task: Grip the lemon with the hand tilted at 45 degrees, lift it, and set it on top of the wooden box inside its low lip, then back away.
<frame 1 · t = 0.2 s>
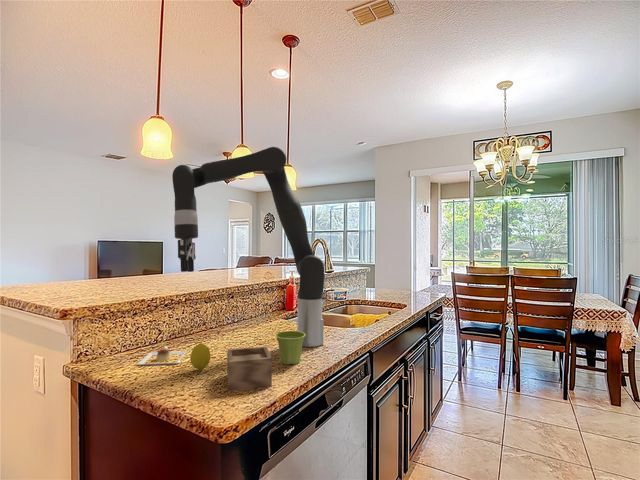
hand: (187, 271, 118), 28 cm above the worktop, tool pointing down, fingers open, 8 cm apart
white square frame: (163, 361, 112), on the worktop
lemon: (200, 371, 102), on the worktop
plant pot: (290, 362, 110), on the worktop
wooden box: (248, 381, 95), on the worktop
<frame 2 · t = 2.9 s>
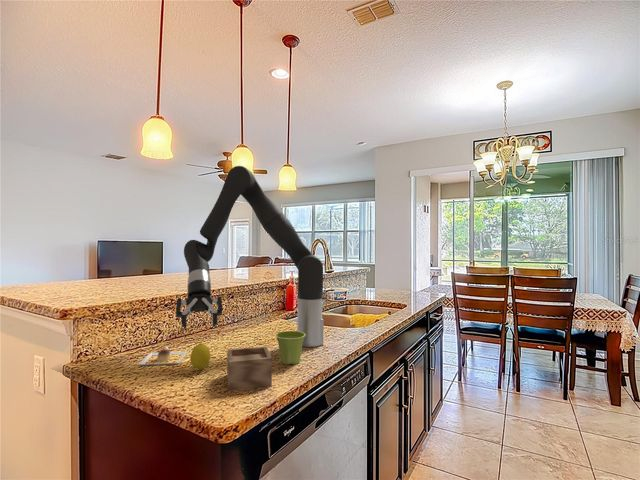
hand: (199, 326, 109), 11 cm above the worktop, tool tilted 45°, fingers open, 8 cm apart
nothing on the worktop moved.
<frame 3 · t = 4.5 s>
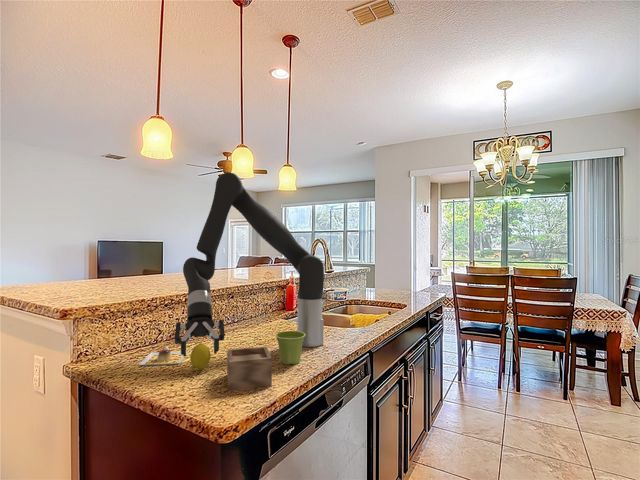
hand: (200, 353, 101), 5 cm above the worktop, tool tilted 45°, fingers open, 8 cm apart
nothing on the worktop moved.
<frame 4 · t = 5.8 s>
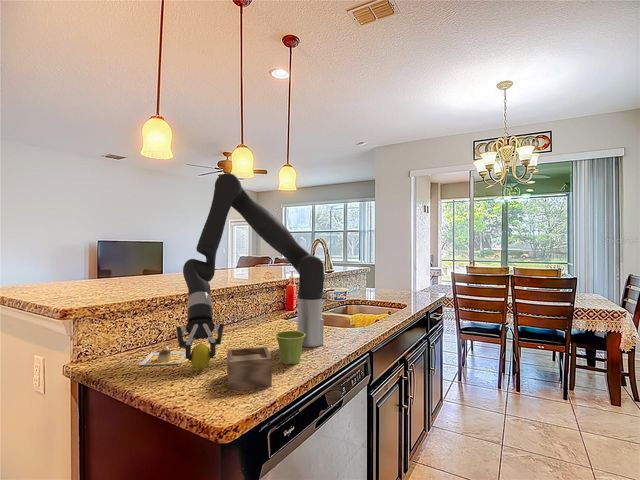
hand: (200, 357, 100), 4 cm above the worktop, tool tilted 45°, fingers closed on lemon, 5 cm apart
lemon: (200, 371, 102), on the worktop, touching gripper
everything else where it was.
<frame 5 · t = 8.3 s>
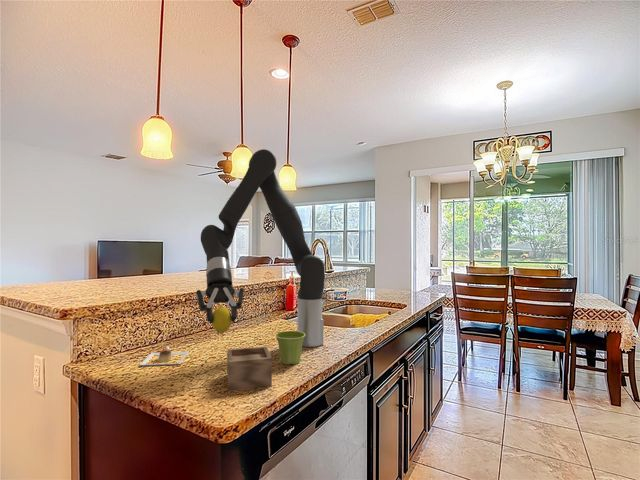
hand: (222, 320, 98), 16 cm above the worktop, tool tilted 45°, fingers closed on lemon, 5 cm apart
lemon: (221, 334, 99), point 11 cm above the worktop, touching gripper
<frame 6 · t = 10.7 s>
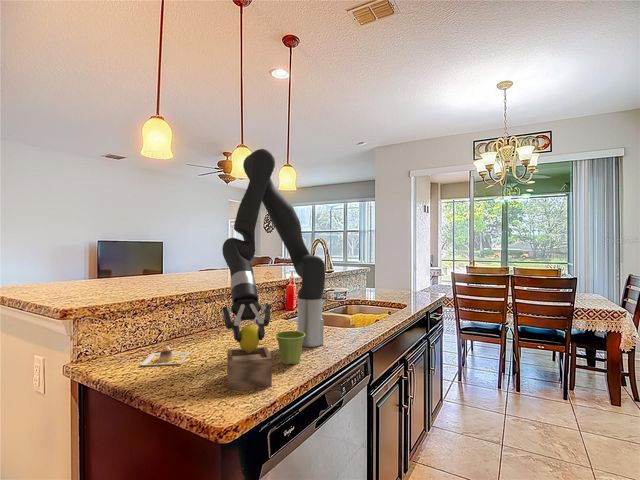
hand: (250, 339, 93), 12 cm above the worktop, tool tilted 45°, fingers closed on lemon, 5 cm apart
lemon: (248, 354, 95), point 7 cm above the worktop, touching gripper
when the fingers open (12 cm above the worktop, at t = 10.8 s): lemon moves 1 cm, resting on wooden box.
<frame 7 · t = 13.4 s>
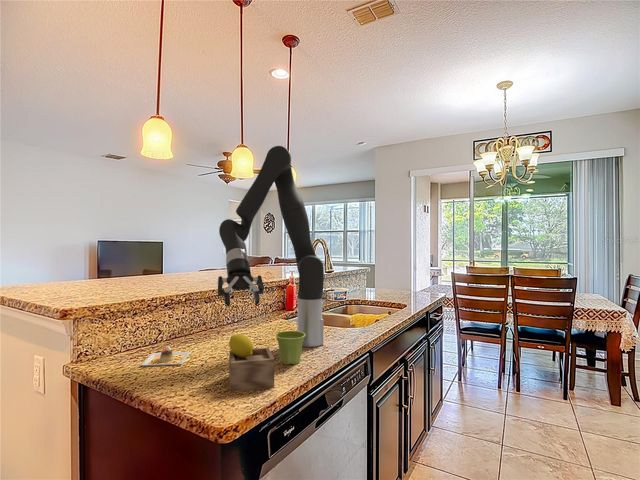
hand: (243, 304, 106), 19 cm above the worktop, tool tilted 45°, fingers open, 8 cm apart
lemon: (252, 355, 94), point 7 cm above the worktop, touching wooden box
wooden box: (250, 382, 94), on the worktop, touching lemon
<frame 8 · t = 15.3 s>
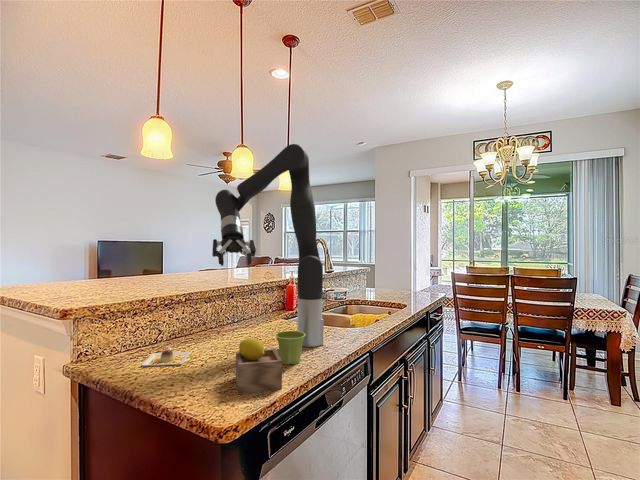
hand: (235, 264, 114), 31 cm above the worktop, tool tilted 45°, fingers open, 8 cm apart
lemon: (264, 354, 93), point 8 cm above the worktop, touching wooden box
wooden box: (257, 384, 93), on the worktop, touching lemon
at the end: lemon 2.0 cm off-centre on the wooden box, point 7.9 cm above the wooden box's base; lemon touching wooden box; the gripper is holding nothing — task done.
